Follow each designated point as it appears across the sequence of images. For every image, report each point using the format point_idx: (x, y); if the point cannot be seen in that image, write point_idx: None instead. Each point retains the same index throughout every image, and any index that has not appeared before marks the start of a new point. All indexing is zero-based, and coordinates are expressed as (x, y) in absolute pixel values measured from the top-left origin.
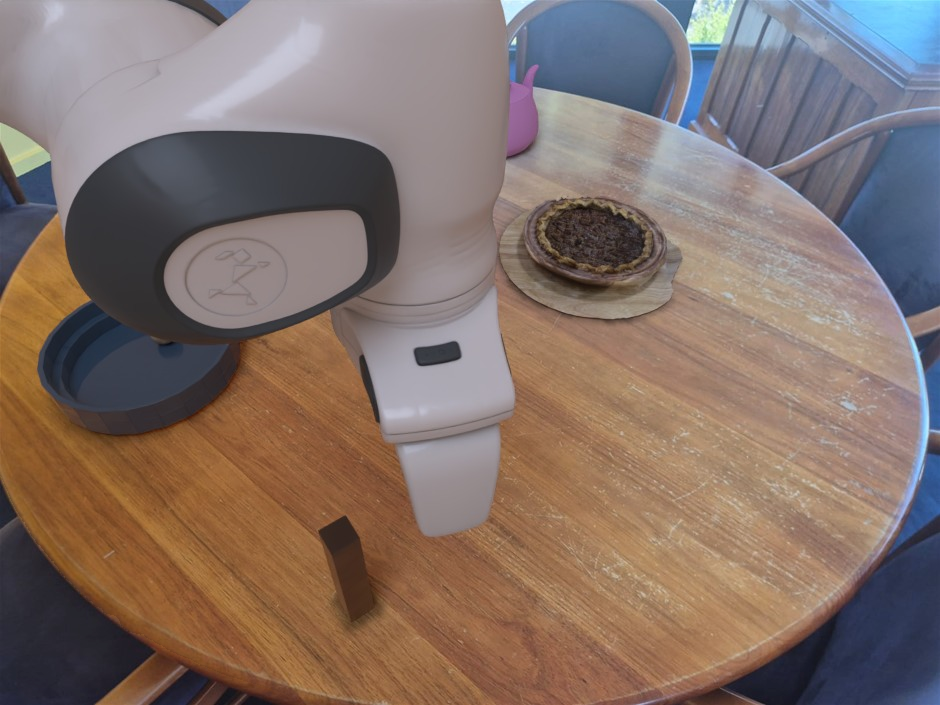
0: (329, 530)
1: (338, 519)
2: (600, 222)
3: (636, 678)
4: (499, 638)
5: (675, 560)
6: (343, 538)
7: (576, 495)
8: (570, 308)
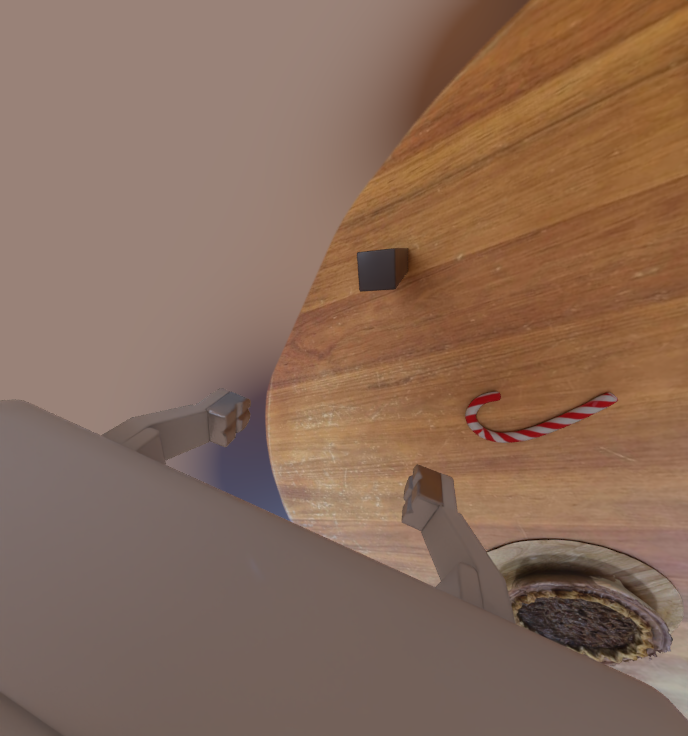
0: (386, 262)
1: (394, 278)
2: (585, 636)
3: (277, 386)
4: (325, 339)
5: (317, 443)
6: (368, 274)
7: (379, 435)
8: (523, 546)
